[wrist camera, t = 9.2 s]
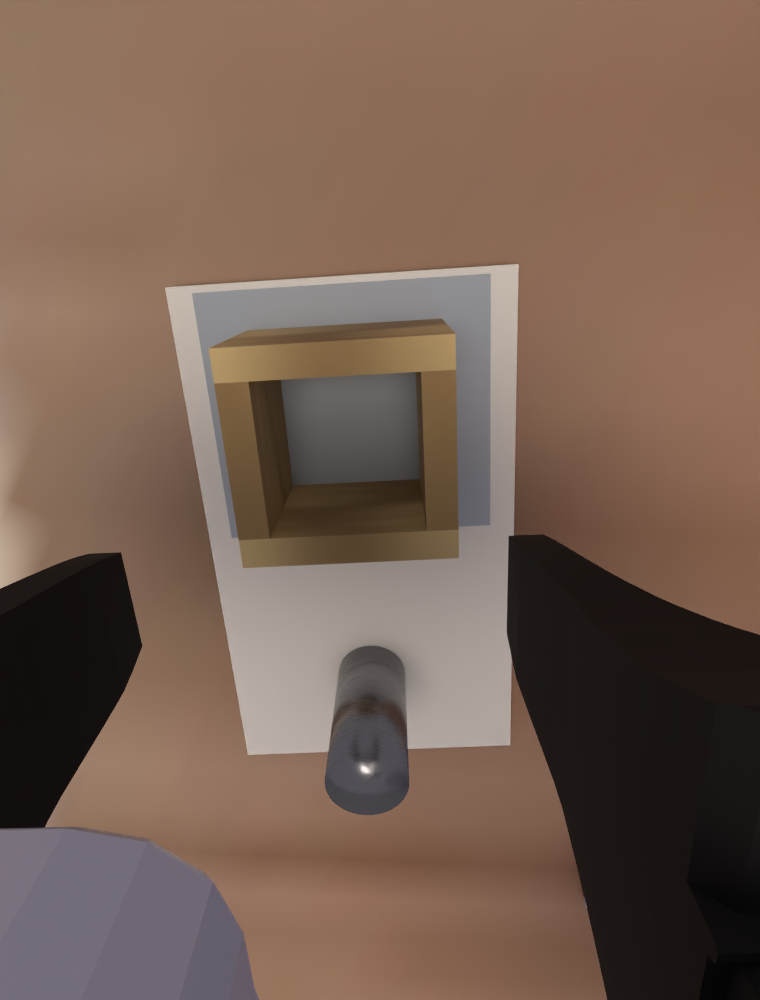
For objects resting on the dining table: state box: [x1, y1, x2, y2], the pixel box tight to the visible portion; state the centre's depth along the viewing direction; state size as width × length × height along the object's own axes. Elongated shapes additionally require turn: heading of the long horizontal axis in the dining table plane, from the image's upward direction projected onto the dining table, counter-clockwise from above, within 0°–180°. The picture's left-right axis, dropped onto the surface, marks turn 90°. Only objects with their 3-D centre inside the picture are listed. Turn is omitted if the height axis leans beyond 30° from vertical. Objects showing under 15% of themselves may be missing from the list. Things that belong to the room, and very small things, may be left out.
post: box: [325, 646, 409, 815], centre depth 20 cm, size 2×2×6 cm
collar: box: [209, 318, 459, 568], centre depth 17 cm, size 6×6×4 cm
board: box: [165, 264, 518, 755], centre depth 21 cm, size 10×17×1 cm, turn 4°
